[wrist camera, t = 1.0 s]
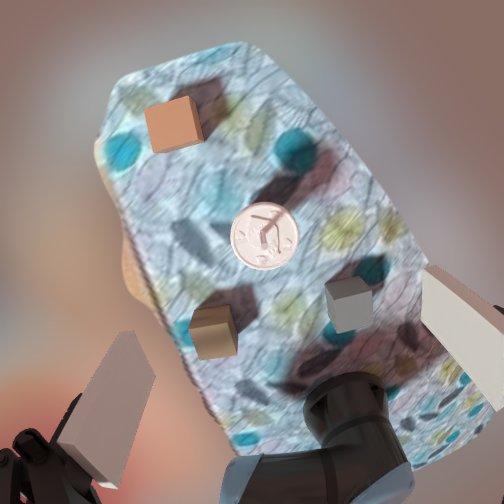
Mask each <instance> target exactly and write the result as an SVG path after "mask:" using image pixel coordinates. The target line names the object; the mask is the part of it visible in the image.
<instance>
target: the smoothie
mask: <svg viewBox="0 0 504 504" xmlns="http://www.w3.org/2000/svg"><path fill="white" fill-rule="evenodd" d="M230 238H231V244H232V248H233V251H234V253H235V254H236V256H237V257H238V258H239V259H240V261H242V262H243V263H244V264H245V265H247V266H249V267H251V268H254V269H258V270H271V269H275V268H278V267H280V266H282V265H284V264H285V263H287V262H288V261H289V260H290V259H291V258H292V256H293V255H294V253H295V252H296V250H297V247H298V244H299V229H298V226H297V223H296V221H295V219H294V217H293V216H292V215H291V213H290V212H289V211H288V210H287V209H285V208H284V207H282V206H281V205H278V204H275V203H272V202H259V203H254V204H252V205H250V206H248V207H246V208H245V209H243V210H242V211H241V212H240V213H239V214H238V215H237V217H236V218H235V220H234V222H233V225H232V227H231V237H230Z"/></svg>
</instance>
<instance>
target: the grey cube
mask: <svg viewBox="0 0 504 504" xmlns="http://www.w3.org/2000/svg"><path fill="white" fill-rule="evenodd" d="M325 292H326V300H327V308H328V316H329V318H330V320H331V322H332V324H333V326H334V328H335V330H336V332H337V334H339V333H343V332H346V331H350V330H354V329H358V328H361V327H365V326H368V325H372V324H373V299H372V290H371V289H370V287H369V286H368V285H367V284H366V283H365V282H364V281H363V279H362V278H361V277H360V276H355V277H351V278H347V279H343V280H338V281H334V282H330V283H326V284H325Z"/></svg>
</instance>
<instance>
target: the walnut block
mask: <svg viewBox="0 0 504 504" xmlns="http://www.w3.org/2000/svg"><path fill="white" fill-rule="evenodd" d="M188 330H189V333H190V336H191V338H192V341H193V344H194V346H195V349H196V351H197V354H198V357H199V359H200V361H201V360H208V359H215V358H221V357H227V356H234V355H237V349H238V332H237V329H236V325H235V322H234V318H233V315H232V312H231V308H230V304H227V305H222V306H216V307H211V308H205V309H200V310H194V313H193V316H192V319H191V322H190V325H189V328H188Z"/></svg>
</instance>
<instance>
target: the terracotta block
mask: <svg viewBox="0 0 504 504" xmlns="http://www.w3.org/2000/svg"><path fill="white" fill-rule="evenodd" d="M144 113H145V118H146V122H147V127H148V132H149V136H150V141H151V145H152V150H153V152H154V153H167V152H171V151H174V150H178V149H181V148H185V147H188V146H192V145H196V144H199V143H203V142H205V141H204V137H203V133H202V128H201V124H200V119H199V115H198V111H197V106H196V103H195V102H194V101H193V100H192V99H191V98H190V97H189V96H185V97H181V98H178V99H174V100H171V101H168V102H165V103H162V104H158V105H155V106H152V107H149V108H147V109H144Z"/></svg>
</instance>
